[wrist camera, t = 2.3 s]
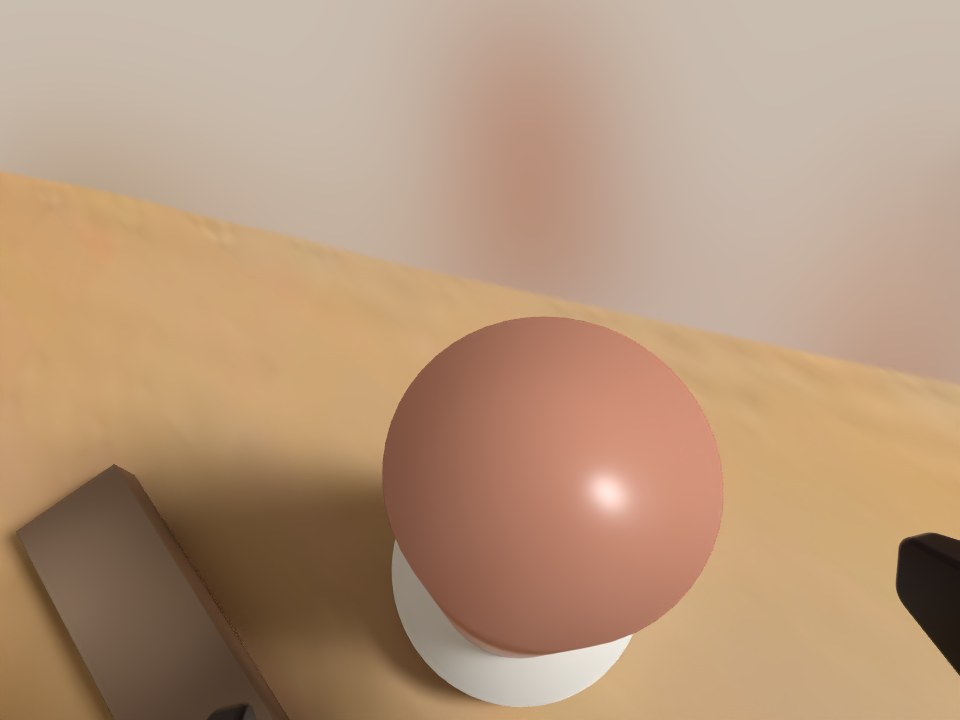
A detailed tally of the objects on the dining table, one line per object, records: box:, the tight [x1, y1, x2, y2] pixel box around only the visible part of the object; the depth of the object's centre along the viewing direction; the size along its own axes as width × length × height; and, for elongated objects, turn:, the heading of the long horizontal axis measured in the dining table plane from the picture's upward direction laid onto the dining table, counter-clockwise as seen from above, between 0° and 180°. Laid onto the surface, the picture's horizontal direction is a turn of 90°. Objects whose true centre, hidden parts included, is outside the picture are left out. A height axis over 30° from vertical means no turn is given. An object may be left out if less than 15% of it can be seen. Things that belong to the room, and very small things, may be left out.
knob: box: [383, 317, 724, 707], centre depth 13 cm, size 7×7×10 cm
